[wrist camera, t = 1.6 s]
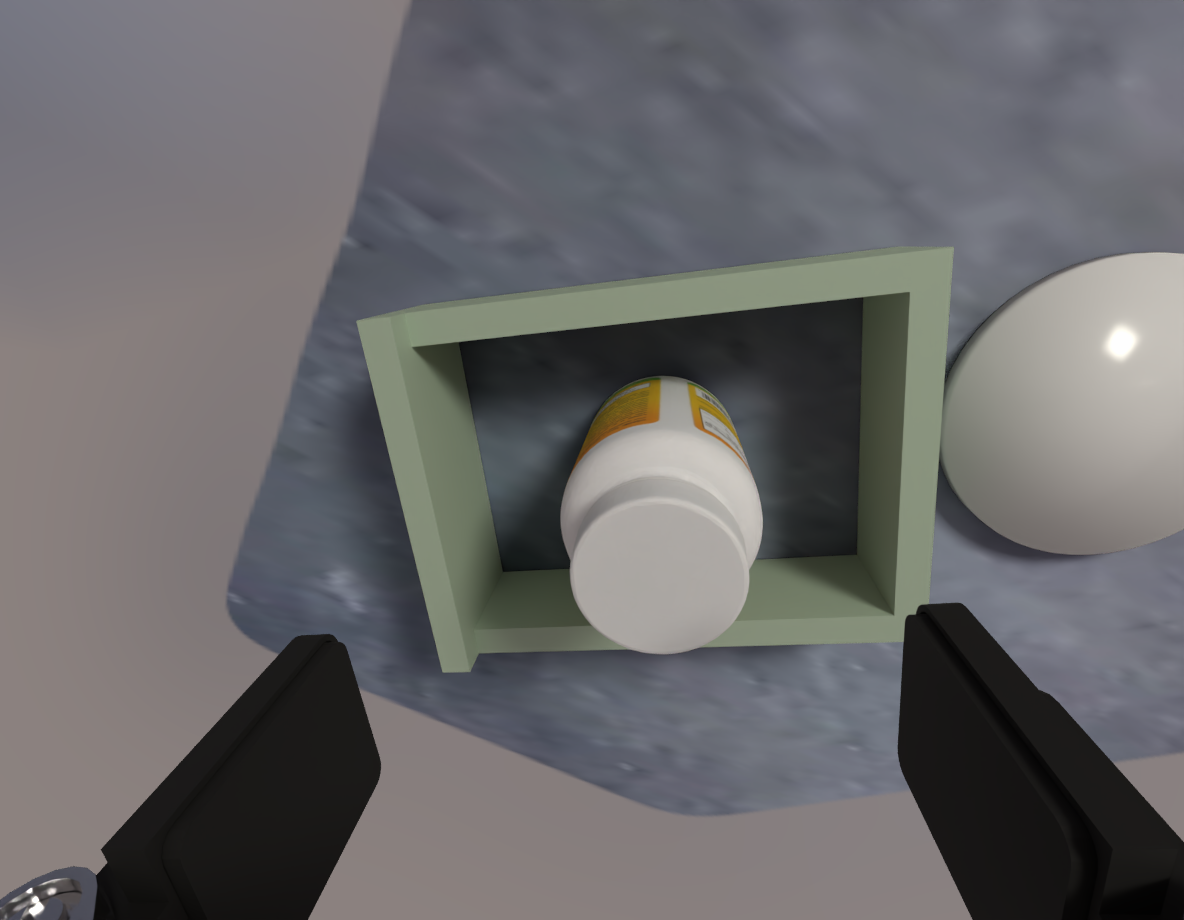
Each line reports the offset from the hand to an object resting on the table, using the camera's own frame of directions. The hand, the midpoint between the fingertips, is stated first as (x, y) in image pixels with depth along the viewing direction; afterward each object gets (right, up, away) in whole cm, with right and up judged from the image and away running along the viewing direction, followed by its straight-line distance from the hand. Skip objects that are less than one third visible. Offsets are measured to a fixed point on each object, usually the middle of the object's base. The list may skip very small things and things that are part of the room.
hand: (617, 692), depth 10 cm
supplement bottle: (+2, +5, +12) cm, 13 cm away
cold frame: (+2, +4, +12) cm, 13 cm away
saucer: (+16, +6, +10) cm, 20 cm away
